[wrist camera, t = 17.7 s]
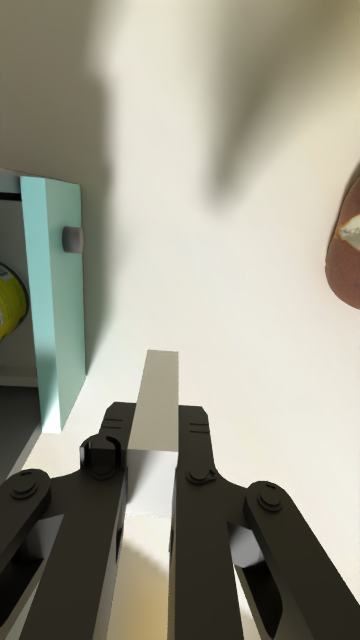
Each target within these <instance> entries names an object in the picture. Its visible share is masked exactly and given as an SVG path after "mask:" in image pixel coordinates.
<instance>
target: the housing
mask: <svg viewBox="0 0 360 640" xmlns="http://www.w3.org/2000/svg"><path fill="white" fill-rule="evenodd" d="M20 176H27V177H38V178H47V177H42V176H38V175H33V174H28V173H23V172H18V171H13V170H8V169H3V168H0V199H12V200H22V195H21V183H20ZM47 179H52V178H47ZM52 180H57V179H52ZM57 181H61V180H57ZM41 433H42V422H41V411H40V399H39V388H38V387H24V386H3V385H0V485H1V484H2V483H3V482H4V481H5V480H7V479H8V478H9V477H10V476H11V475H13V474H15V473H17V472H20V471H21V469H22V467H23V465H24V464H25V462H26V460H27V458H28V456H29V455H30V453H31V451H32V449H33V447H34V445H35V444H36V442H37V440H38V438H39V436H40V434H41Z"/></svg>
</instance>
